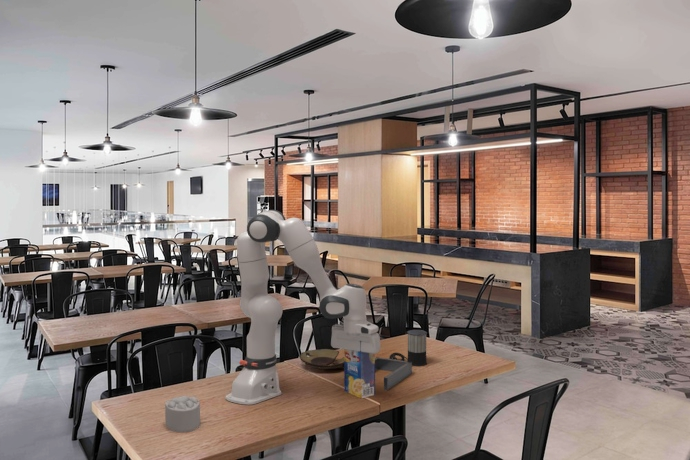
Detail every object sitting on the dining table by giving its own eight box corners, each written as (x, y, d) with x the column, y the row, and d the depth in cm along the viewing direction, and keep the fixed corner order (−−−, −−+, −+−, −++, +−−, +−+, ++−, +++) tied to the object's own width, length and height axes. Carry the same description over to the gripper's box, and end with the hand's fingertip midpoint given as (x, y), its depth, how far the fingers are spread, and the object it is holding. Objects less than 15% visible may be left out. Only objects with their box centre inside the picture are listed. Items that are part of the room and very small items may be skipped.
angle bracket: (387, 390, 215) (387, 378, 215) (349, 383, 223) (349, 371, 223) (411, 373, 237) (411, 362, 236) (376, 367, 245) (376, 356, 245)
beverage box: (358, 387, 219) (357, 333, 218) (375, 394, 210) (374, 338, 209) (344, 390, 215) (343, 335, 214) (361, 398, 206) (360, 341, 205)
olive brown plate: (331, 356, 264) (331, 341, 264) (367, 372, 239) (367, 355, 239) (290, 364, 252) (290, 347, 252) (323, 381, 227) (323, 363, 227)
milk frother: (430, 365, 249) (430, 333, 248) (399, 369, 243) (399, 336, 243) (415, 357, 262) (415, 326, 262) (386, 360, 257) (386, 329, 256)
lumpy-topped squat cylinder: (192, 415, 191) (192, 391, 190) (205, 427, 180) (205, 402, 180) (162, 422, 185) (162, 397, 185) (173, 435, 174) (173, 408, 174)
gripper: (327, 324, 211) (328, 360, 211) (374, 330, 201) (375, 367, 201) (336, 321, 216) (336, 356, 217) (382, 327, 206) (382, 363, 207)
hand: (355, 361), depth 209 cm, fingers closed
